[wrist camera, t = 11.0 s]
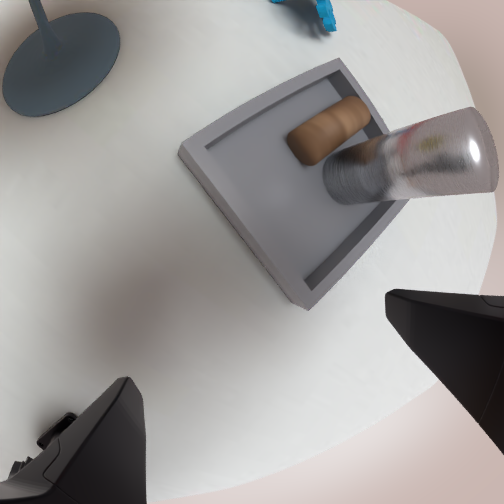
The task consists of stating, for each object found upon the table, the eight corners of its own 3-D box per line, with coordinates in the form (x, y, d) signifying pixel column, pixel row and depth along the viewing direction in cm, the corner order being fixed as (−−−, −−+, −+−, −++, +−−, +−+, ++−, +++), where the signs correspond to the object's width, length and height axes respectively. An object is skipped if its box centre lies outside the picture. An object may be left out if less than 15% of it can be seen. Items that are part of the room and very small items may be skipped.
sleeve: (355, 214, 23) (496, 208, 11) (314, 187, 21) (462, 155, 9) (370, 170, 23) (498, 144, 11) (332, 141, 22) (464, 90, 10)
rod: (287, 152, 21) (316, 172, 20) (286, 123, 18) (320, 143, 17) (340, 116, 23) (367, 132, 22) (343, 90, 20) (373, 106, 19)
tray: (291, 302, 22) (308, 310, 20) (177, 154, 18) (181, 143, 16) (399, 189, 26) (419, 187, 23) (323, 69, 22) (339, 57, 19)
